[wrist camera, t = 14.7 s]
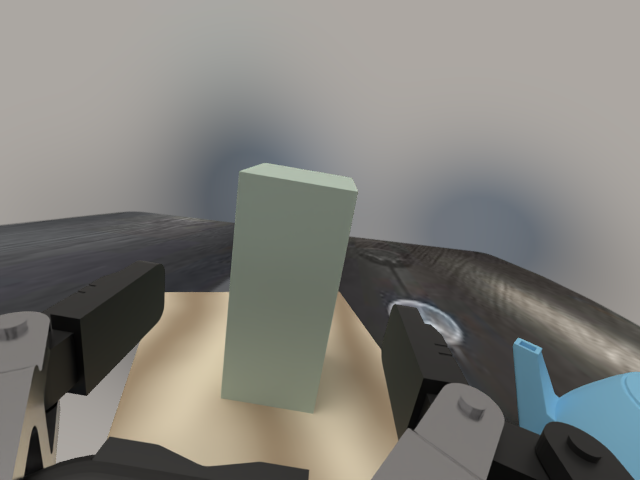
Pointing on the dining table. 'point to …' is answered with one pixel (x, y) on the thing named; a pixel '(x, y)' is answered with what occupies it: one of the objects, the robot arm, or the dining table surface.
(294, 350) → the sage post
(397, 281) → the dining table surface
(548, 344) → the dining table surface
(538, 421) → the teapot
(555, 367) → the dining table surface
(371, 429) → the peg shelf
